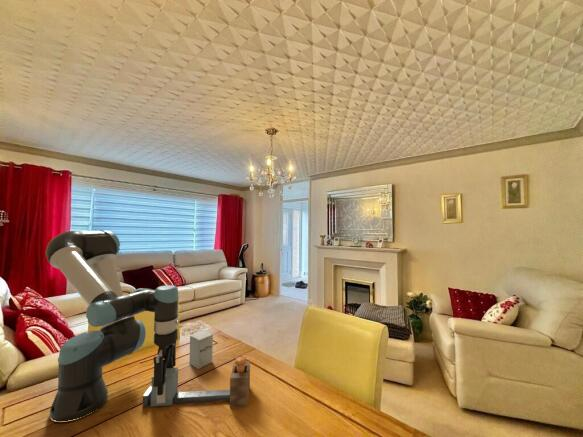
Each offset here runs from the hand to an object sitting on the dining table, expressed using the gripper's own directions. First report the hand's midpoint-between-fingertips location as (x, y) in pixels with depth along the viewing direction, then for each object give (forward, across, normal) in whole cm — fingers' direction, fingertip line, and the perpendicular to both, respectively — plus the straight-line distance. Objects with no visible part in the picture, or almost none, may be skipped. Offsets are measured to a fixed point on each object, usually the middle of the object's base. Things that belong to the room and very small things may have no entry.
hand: (164, 396), depth 87 cm
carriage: (+2, 0, 0) cm, 2 cm away
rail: (+2, 0, -9) cm, 9 cm away
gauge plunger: (-5, 0, -27) cm, 27 cm away
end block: (+2, 0, -26) cm, 27 cm away
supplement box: (+2, +24, -6) cm, 25 cm away
